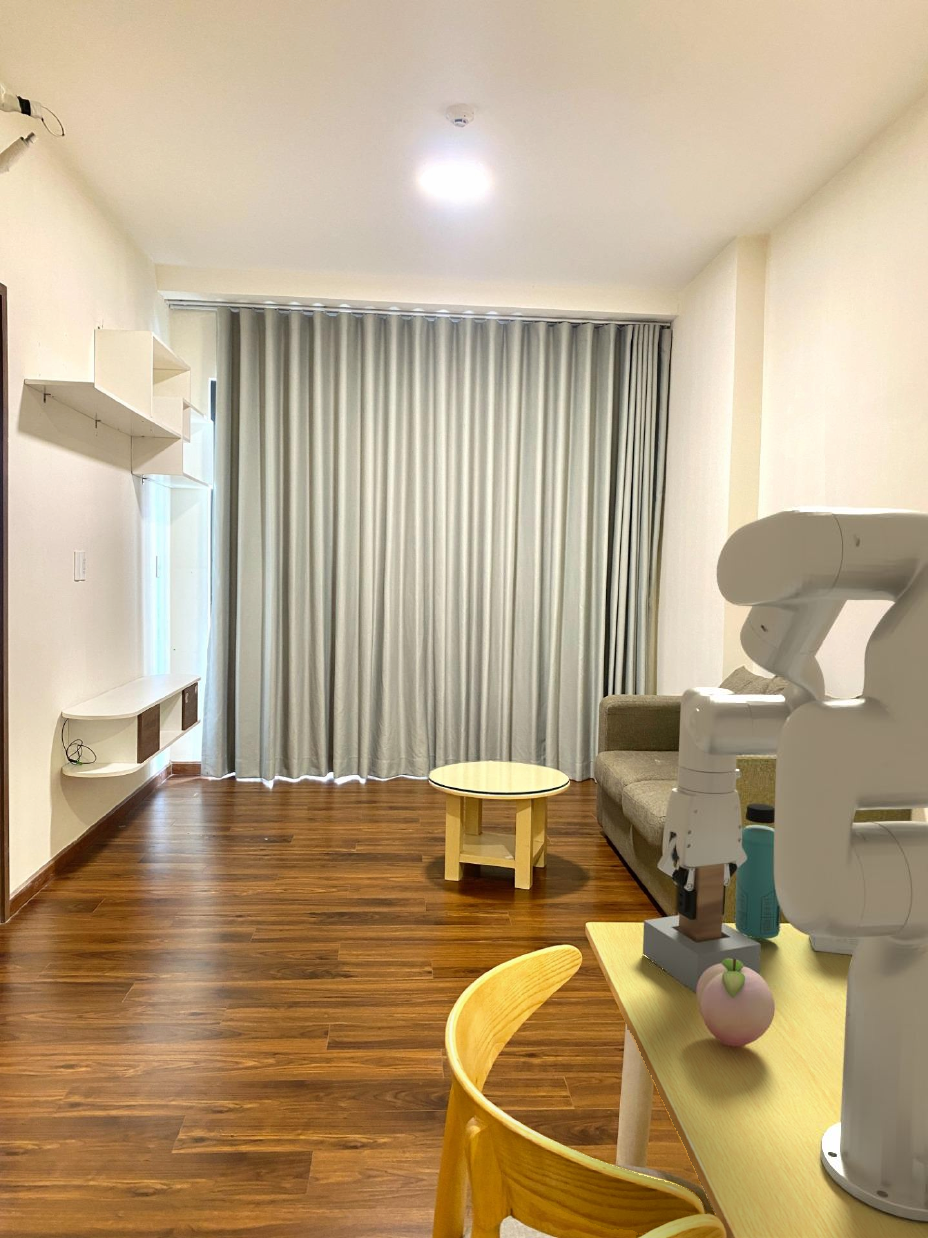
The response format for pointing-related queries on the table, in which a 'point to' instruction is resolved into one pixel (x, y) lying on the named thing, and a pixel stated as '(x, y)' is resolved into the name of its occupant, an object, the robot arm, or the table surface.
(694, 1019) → the table surface
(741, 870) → the beverage bottle
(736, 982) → the decorative fruit
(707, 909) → the walnut peg
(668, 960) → the socket block
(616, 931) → the table surface
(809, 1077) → the table surface
